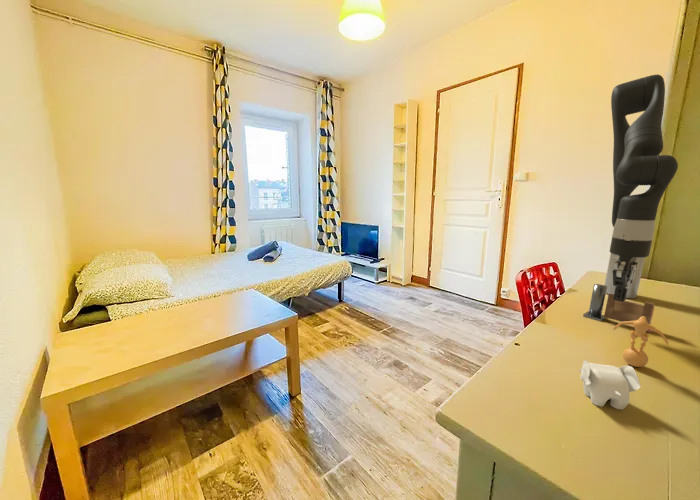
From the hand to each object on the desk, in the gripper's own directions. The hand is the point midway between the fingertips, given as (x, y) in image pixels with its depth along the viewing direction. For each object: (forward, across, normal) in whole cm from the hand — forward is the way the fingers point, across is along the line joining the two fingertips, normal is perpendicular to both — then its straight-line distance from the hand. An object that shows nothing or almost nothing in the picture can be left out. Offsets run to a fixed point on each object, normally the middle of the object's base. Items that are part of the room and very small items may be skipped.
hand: (619, 300), depth 79 cm
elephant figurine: (+8, +38, +6) cm, 39 cm away
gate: (+8, -7, +1) cm, 10 cm away
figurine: (+8, +20, +7) cm, 23 cm away
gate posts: (+9, -7, -1) cm, 11 cm away
